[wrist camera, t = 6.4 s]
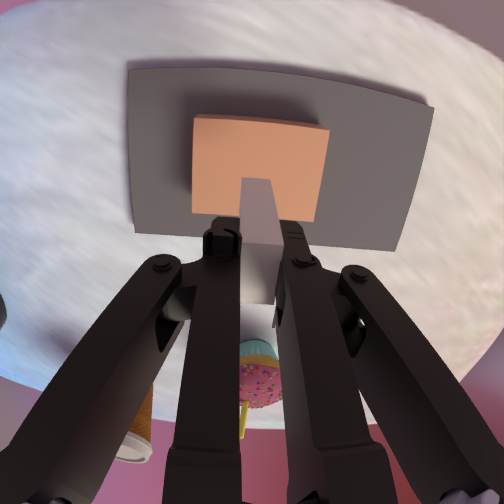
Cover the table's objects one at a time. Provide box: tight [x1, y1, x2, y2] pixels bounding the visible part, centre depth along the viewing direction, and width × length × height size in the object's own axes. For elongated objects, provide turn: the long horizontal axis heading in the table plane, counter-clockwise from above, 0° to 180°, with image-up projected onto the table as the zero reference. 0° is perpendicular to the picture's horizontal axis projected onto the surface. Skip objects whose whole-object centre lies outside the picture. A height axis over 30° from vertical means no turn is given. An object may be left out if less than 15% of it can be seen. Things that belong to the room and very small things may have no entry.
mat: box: [128, 67, 434, 252], centre depth 24 cm, size 24×14×1 cm, turn 85°
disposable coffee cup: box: [114, 384, 153, 463], centre depth 36 cm, size 10×10×12 cm
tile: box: [192, 114, 330, 222], centre depth 22 cm, size 2×7×9 cm
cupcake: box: [240, 340, 283, 439], centre depth 31 cm, size 9×8×12 cm
